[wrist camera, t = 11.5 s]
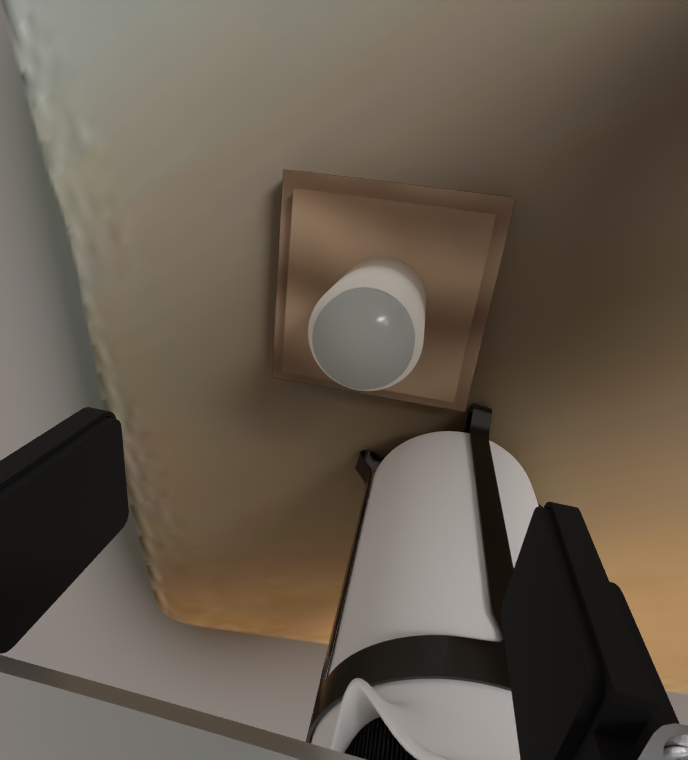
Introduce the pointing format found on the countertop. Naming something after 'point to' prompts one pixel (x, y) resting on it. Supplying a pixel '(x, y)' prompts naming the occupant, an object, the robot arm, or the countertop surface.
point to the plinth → (400, 241)
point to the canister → (370, 325)
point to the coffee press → (428, 604)
